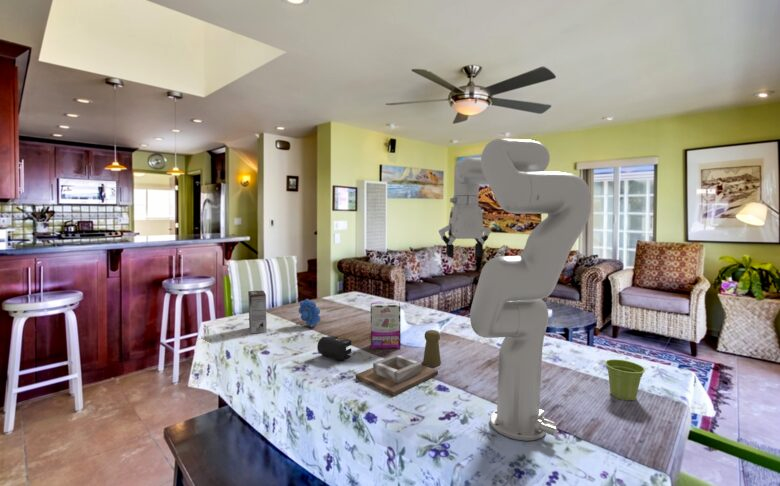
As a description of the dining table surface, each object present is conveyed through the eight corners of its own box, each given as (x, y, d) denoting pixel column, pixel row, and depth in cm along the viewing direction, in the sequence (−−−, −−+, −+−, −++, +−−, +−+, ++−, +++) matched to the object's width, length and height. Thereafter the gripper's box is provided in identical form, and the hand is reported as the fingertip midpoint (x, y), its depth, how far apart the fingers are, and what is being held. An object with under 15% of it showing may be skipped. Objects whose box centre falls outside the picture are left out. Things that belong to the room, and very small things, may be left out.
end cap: (316, 357, 133) (316, 338, 132) (330, 351, 139) (330, 333, 138) (339, 364, 127) (339, 344, 127) (352, 357, 133) (352, 338, 133)
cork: (440, 367, 125) (440, 334, 124) (421, 365, 126) (422, 333, 125) (441, 360, 131) (442, 328, 130) (423, 358, 132) (424, 327, 131)
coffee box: (248, 327, 166) (247, 291, 165) (264, 326, 169) (263, 289, 168) (250, 333, 158) (249, 295, 157) (267, 331, 161) (266, 294, 159)
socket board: (437, 374, 119) (438, 361, 119) (393, 396, 105) (393, 381, 105) (400, 360, 131) (400, 348, 130) (355, 378, 116) (355, 364, 116)
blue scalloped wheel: (292, 326, 168) (292, 299, 167) (302, 322, 174) (302, 296, 173) (314, 330, 163) (314, 302, 162) (323, 326, 169) (323, 299, 168)
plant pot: (607, 385, 113) (608, 356, 112) (645, 395, 107) (647, 364, 106) (600, 396, 106) (602, 366, 105) (640, 408, 100) (642, 375, 99)
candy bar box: (399, 344, 147) (400, 302, 145) (400, 349, 142) (401, 305, 140) (370, 344, 146) (370, 302, 145) (370, 349, 141) (370, 305, 140)
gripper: (445, 201, 113) (443, 259, 115) (497, 202, 118) (495, 257, 119) (435, 201, 120) (434, 256, 122) (484, 202, 125) (483, 254, 126)
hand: (464, 256), depth 120 cm, fingers open, 9 cm apart
